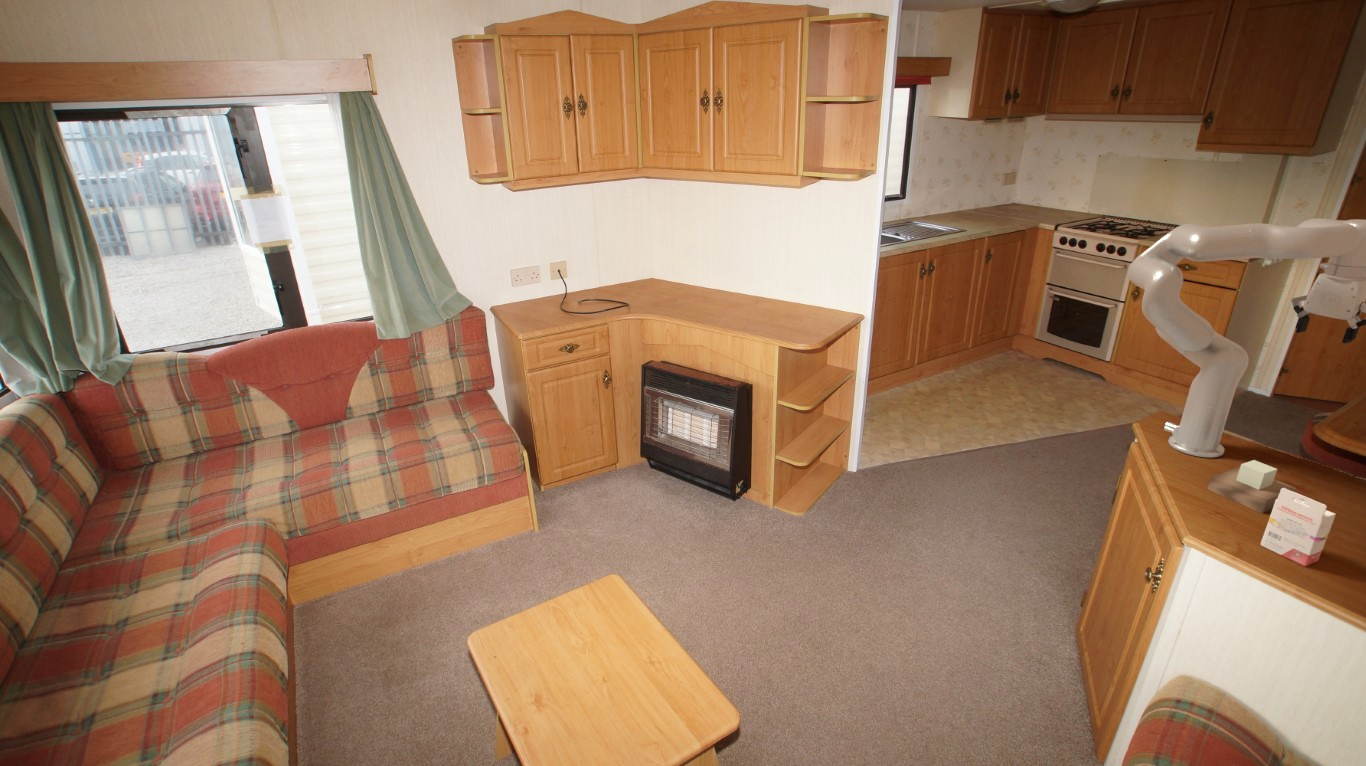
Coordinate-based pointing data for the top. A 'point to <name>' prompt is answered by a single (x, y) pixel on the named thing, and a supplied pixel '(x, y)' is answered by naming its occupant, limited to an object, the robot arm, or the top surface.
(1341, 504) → the top surface
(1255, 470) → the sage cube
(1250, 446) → the top surface
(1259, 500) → the walnut block
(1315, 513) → the ink cartridge box
